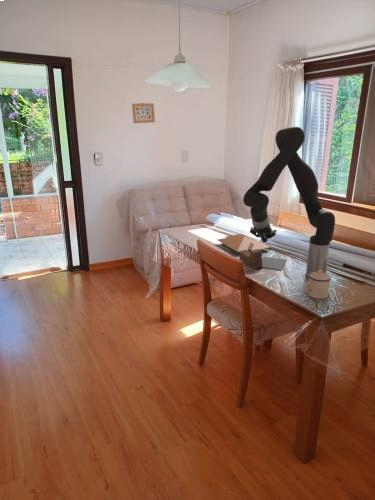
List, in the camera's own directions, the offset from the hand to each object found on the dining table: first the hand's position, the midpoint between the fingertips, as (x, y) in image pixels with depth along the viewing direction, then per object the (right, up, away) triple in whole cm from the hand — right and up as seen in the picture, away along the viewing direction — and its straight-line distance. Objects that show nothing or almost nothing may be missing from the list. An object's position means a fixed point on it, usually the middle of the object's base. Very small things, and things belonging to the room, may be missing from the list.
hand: (264, 240), depth 182 cm
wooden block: (-2, -10, +8) cm, 13 cm away
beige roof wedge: (-5, -4, +46) cm, 46 cm away
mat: (+8, -12, +18) cm, 23 cm away
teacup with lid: (+17, -25, -21) cm, 37 cm away
